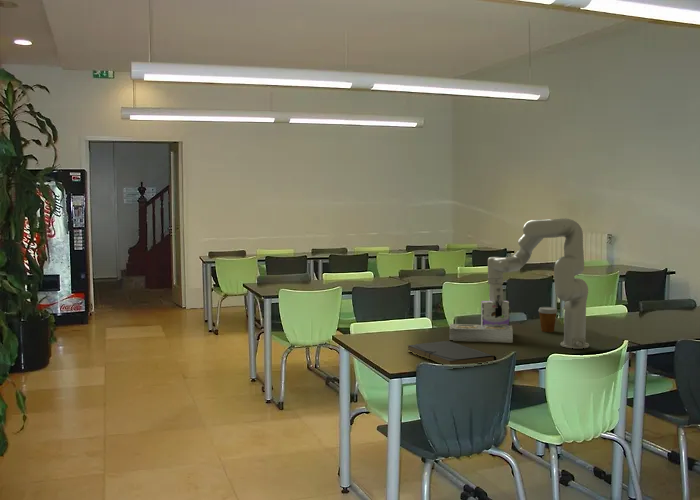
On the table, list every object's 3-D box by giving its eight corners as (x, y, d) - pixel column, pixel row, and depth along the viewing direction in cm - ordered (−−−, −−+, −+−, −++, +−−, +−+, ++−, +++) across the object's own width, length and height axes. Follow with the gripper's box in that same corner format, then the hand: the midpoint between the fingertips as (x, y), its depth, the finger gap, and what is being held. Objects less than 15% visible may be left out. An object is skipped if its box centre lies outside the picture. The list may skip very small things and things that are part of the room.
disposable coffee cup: (554, 333, 340) (554, 310, 339) (535, 331, 345) (536, 308, 344) (559, 330, 348) (559, 307, 347) (540, 328, 353) (541, 306, 352)
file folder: (407, 344, 303) (451, 339, 314) (407, 353, 303) (451, 348, 314) (449, 360, 274) (496, 354, 284) (449, 370, 274) (496, 363, 285)
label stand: (511, 337, 332) (511, 324, 332) (512, 342, 321) (512, 329, 320) (450, 335, 338) (450, 323, 338) (449, 340, 326) (449, 327, 326)
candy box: (507, 331, 346) (507, 300, 345) (509, 334, 340) (509, 302, 339) (480, 331, 347) (480, 300, 346) (482, 334, 341) (482, 302, 340)
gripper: (507, 282, 333) (508, 316, 334) (497, 279, 351) (498, 311, 352) (492, 283, 333) (493, 317, 334) (483, 279, 350) (484, 312, 351)
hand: (495, 314), depth 343 cm, fingers open, 9 cm apart
